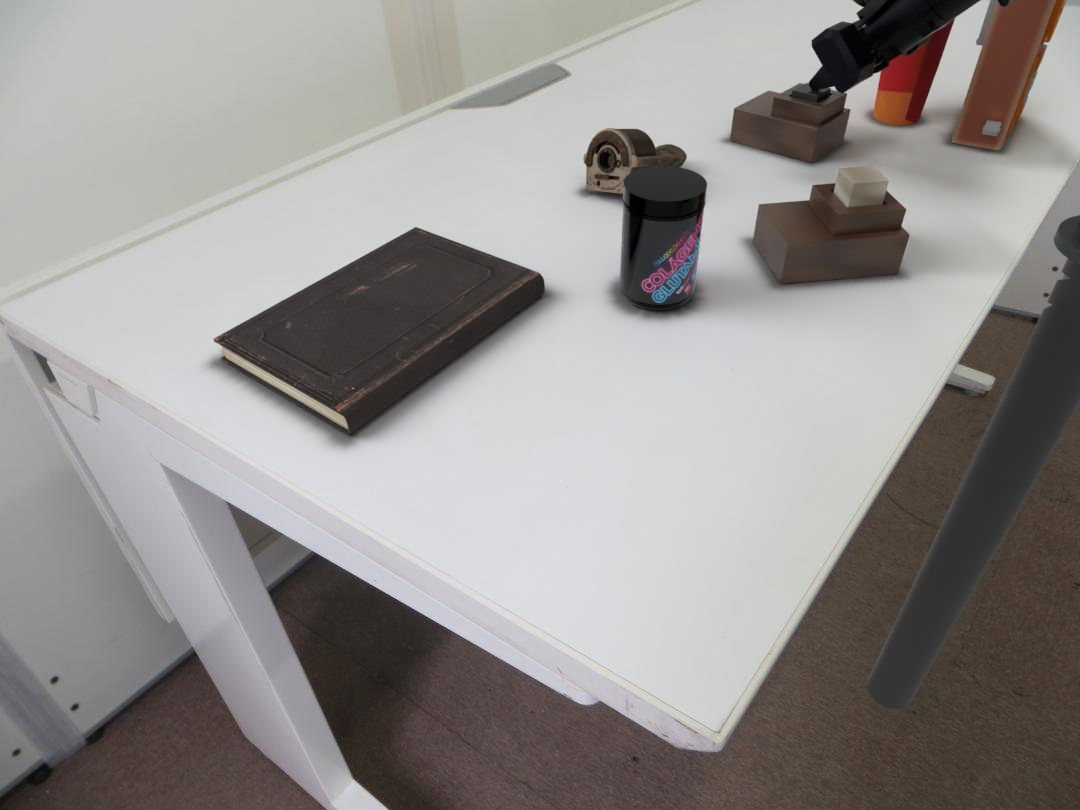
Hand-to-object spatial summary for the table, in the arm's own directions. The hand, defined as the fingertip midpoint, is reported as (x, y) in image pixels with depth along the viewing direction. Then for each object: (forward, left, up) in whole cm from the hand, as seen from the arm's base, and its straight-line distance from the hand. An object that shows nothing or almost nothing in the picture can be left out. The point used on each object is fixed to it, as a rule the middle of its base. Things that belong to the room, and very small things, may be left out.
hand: (811, 86), depth 88 cm
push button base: (+2, -1, -7) cm, 7 cm away
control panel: (-21, -10, -7) cm, 25 cm away
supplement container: (+11, +37, -7) cm, 39 cm away
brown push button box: (-3, +27, -7) cm, 28 cm away
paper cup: (-11, -12, -7) cm, 18 cm away
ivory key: (-5, +26, -1) cm, 27 cm away
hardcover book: (+32, +48, -7) cm, 58 cm away
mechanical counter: (+17, +15, -7) cm, 24 cm away
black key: (0, 0, -3) cm, 3 cm away
